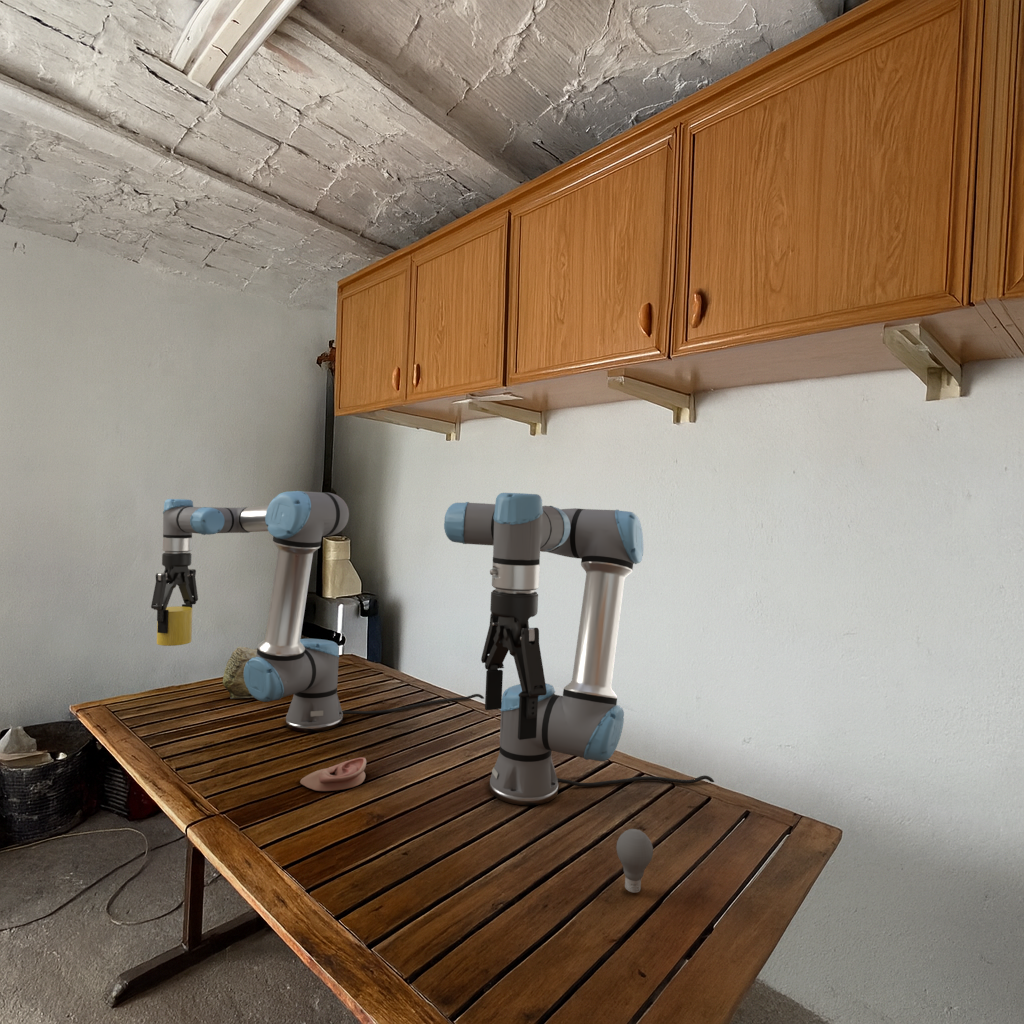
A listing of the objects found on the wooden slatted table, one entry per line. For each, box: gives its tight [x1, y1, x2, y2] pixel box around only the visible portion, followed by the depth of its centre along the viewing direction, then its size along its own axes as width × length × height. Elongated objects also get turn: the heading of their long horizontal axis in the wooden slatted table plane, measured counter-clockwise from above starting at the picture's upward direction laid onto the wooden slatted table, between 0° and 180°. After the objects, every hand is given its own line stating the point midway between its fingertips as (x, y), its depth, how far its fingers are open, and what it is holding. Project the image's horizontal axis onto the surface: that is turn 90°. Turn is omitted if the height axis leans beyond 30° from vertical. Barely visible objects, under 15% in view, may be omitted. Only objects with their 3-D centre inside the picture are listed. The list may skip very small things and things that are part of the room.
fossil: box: [222, 646, 257, 699], centre depth 198 cm, size 9×18×15 cm, turn 132°
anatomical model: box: [299, 756, 367, 792], centre depth 141 cm, size 13×4×12 cm
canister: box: [156, 605, 193, 647], centre depth 184 cm, size 9×9×10 cm
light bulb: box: [615, 828, 654, 894], centre depth 106 cm, size 6×6×10 cm
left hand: (174, 629), depth 184 cm, fingers closed on canister, 9 cm apart
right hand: (508, 722), depth 101 cm, fingers open, 13 cm apart
